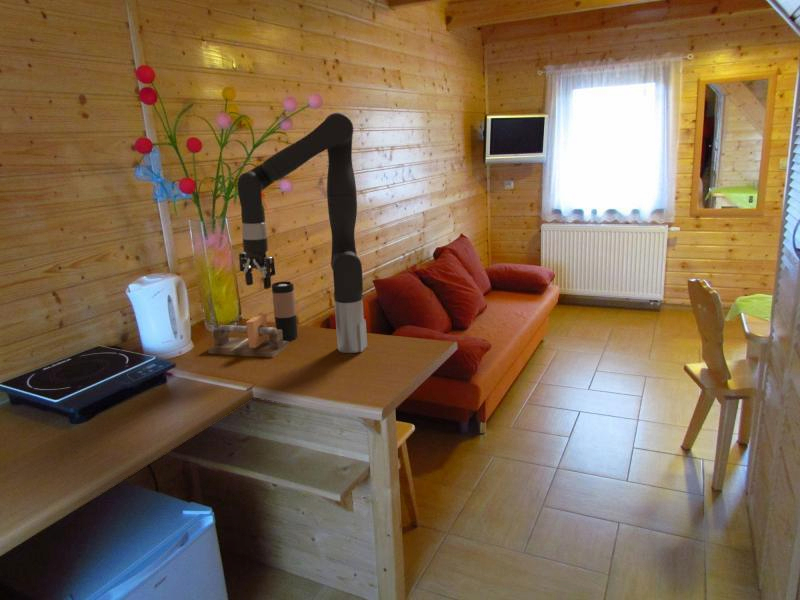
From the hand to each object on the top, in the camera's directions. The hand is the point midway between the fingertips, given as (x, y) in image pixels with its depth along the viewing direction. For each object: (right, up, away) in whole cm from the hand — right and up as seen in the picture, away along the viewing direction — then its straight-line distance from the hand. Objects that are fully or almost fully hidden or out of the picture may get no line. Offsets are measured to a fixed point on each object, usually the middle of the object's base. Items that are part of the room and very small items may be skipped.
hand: (258, 286), depth 181 cm
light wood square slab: (-2, -19, +10) cm, 21 cm away
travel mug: (+5, -18, +21) cm, 29 cm away
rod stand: (-6, -21, +11) cm, 25 cm away
